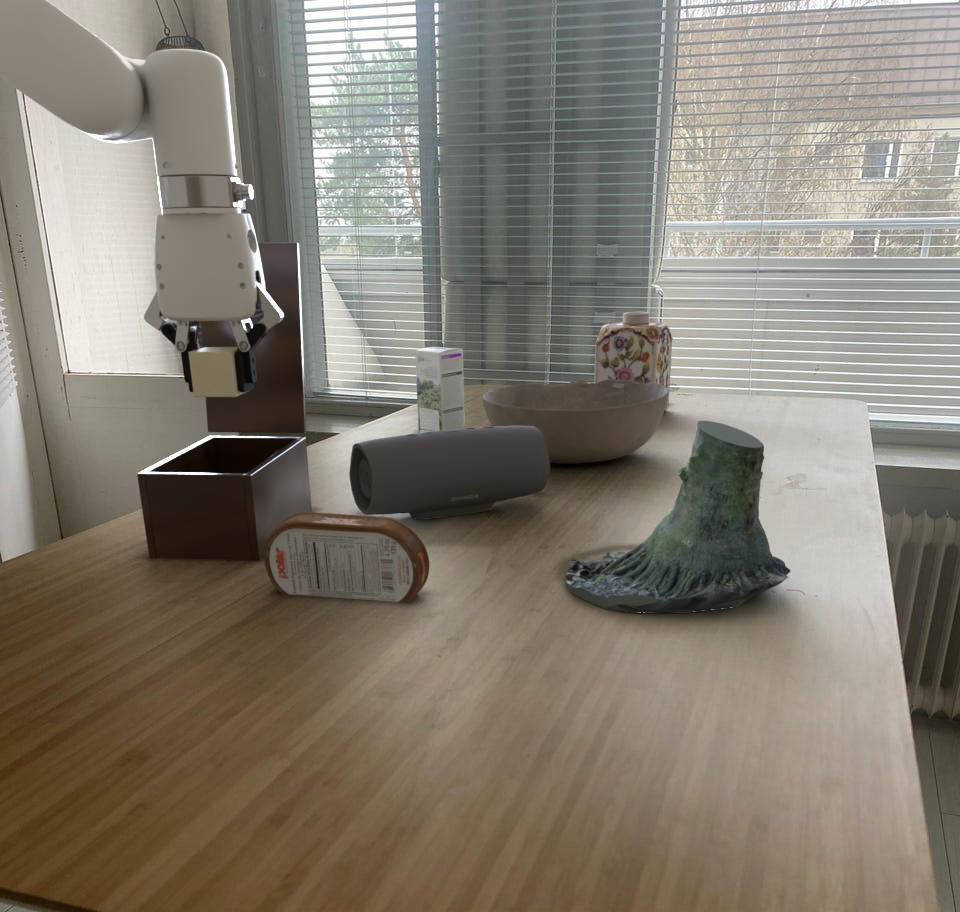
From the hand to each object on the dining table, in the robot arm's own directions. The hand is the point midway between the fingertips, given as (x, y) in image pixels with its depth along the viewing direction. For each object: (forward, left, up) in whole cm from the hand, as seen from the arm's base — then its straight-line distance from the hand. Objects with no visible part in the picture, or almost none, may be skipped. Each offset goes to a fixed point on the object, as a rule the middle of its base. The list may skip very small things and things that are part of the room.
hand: (221, 388), depth 102 cm
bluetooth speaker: (+22, +14, -17) cm, 31 cm away
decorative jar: (+46, +87, -17) cm, 100 cm away
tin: (+17, -19, -17) cm, 30 cm away
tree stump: (+47, -11, -17) cm, 51 cm away
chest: (0, 0, -17) cm, 17 cm away
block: (0, 0, -1) cm, 1 cm away
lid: (0, +11, +4) cm, 11 cm away
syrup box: (+14, +60, -17) cm, 64 cm away
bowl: (+36, +48, -17) cm, 62 cm away
